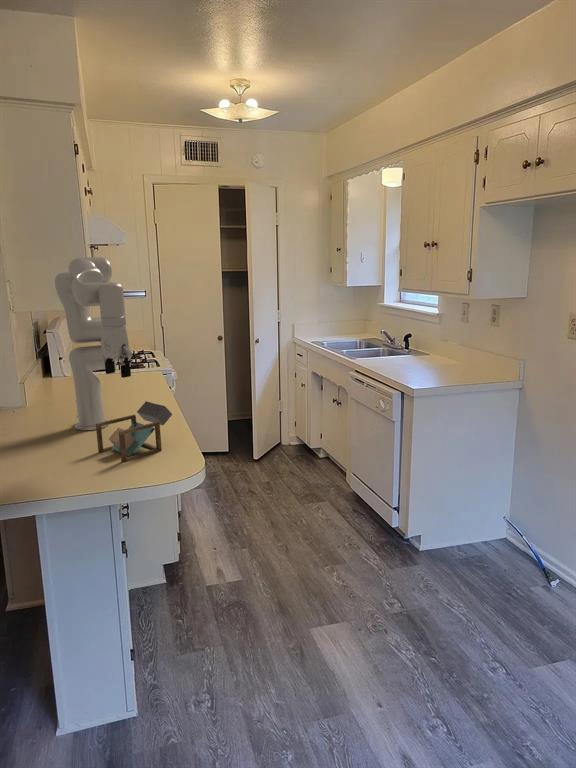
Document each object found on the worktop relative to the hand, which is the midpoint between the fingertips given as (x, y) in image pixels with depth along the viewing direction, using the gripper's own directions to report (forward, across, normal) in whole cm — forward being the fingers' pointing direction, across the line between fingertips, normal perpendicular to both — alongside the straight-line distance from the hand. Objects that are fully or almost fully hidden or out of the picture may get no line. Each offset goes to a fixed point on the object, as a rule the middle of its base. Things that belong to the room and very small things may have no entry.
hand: (118, 375), depth 181 cm
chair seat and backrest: (+22, +1, +7) cm, 23 cm away
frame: (+26, +1, +2) cm, 26 cm away
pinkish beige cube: (+24, +1, 0) cm, 24 cm away
